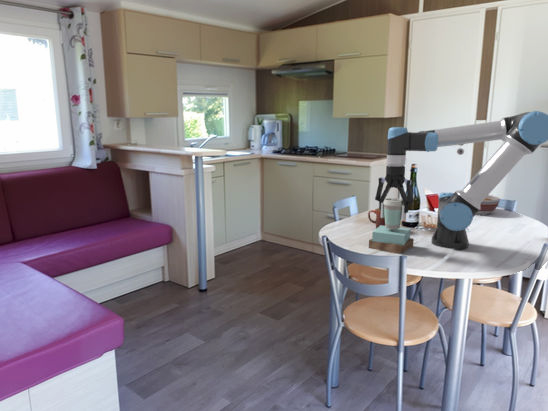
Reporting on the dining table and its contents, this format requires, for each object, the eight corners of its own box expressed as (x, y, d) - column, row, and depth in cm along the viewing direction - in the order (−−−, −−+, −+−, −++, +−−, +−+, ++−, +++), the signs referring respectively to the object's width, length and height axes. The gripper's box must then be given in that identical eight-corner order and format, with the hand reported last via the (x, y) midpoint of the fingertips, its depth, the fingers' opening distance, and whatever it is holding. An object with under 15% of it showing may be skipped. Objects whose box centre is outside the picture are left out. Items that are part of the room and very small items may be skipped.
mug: (393, 229, 220) (394, 208, 218) (391, 233, 212) (392, 212, 210) (369, 226, 224) (370, 207, 222) (365, 230, 216) (366, 210, 214)
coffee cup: (403, 230, 182) (405, 202, 180) (382, 229, 184) (383, 201, 182) (402, 225, 191) (403, 198, 188) (381, 224, 192) (383, 197, 190)
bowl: (449, 209, 268) (451, 193, 266) (489, 210, 265) (490, 193, 263) (461, 217, 245) (463, 200, 243) (504, 218, 243) (506, 200, 241)
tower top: (410, 237, 191) (410, 228, 190) (403, 245, 180) (404, 235, 179) (380, 234, 197) (380, 225, 196) (372, 241, 186) (372, 231, 185)
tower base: (413, 247, 191) (413, 238, 190) (400, 255, 180) (400, 245, 179) (382, 242, 199) (383, 233, 198) (368, 249, 188) (369, 240, 187)
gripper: (424, 166, 179) (421, 220, 183) (375, 162, 192) (373, 213, 196) (417, 167, 173) (414, 224, 177) (368, 164, 186) (365, 216, 190)
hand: (392, 218), depth 187 cm, fingers closed on coffee cup, 8 cm apart
